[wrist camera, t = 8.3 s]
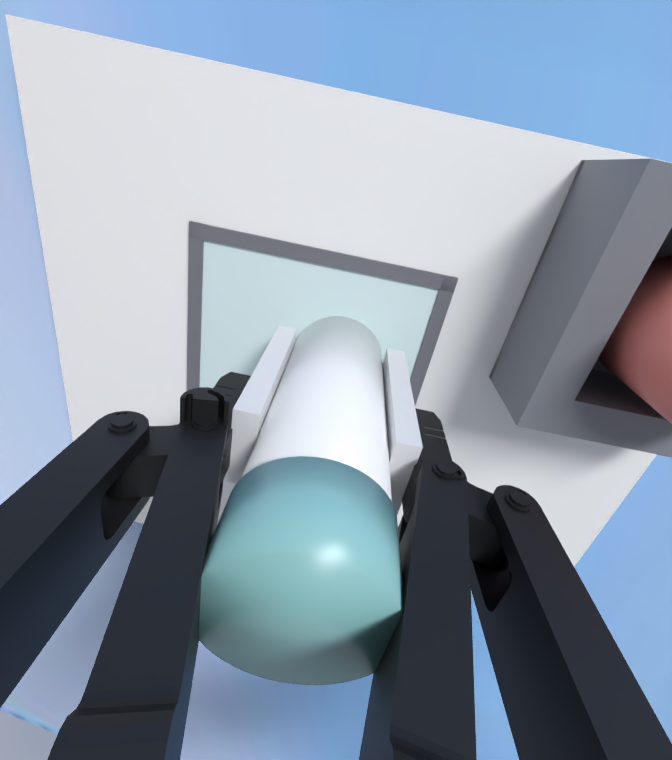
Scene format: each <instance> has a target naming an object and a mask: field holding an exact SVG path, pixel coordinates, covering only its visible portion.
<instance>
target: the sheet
mask: <svg viewBox="0 0 672 760" xmlns="http://www.w3.org/2000/svg"><path fill="white" fill-rule="evenodd" d="M6 20H7V26H8V33H9V39H10V45H11V52H12V58H13V64H14V71H15V77H16V83H17V90H18V96H19V102H20V109H21V115H22V121H23V128H24V134H25V140H26V147H27V153H28V159H29V166H30V172H31V178H32V184H33V191H34V197H35V203H36V210H37V216H38V222H39V229H40V235H41V241H42V248H43V254H44V260H45V267H46V273H47V279H48V286H49V292H50V298H51V305H52V311H53V317H54V324H55V330H56V336H57V343H58V349H59V355H60V362H61V368H62V374H63V381H64V387H65V393H66V400H67V406H68V412H69V419H70V425H71V431H72V438H73V441H75V440H76V439H77V438H78V437H79V436H80V435H81V434H83V433H84V432H85V431H86V430H87V429H88V428H89V427H91V426H92V425H93V424H94V423H95V422H96V421H97V420H99V419H100V418H102V417H103V416H105V415H107V414H110V413H114V412H119V411H133V412H138V413H140V414H143V415H144V416H145V417H146V418H147V419H148V421H149V426H171V425H177V424H179V423H180V397H181V396H182V394H183V393H184V392H186V391H188V390H190V389H194V388H199V387H209V388H214V386H215V385H216V383H217V382H218V380H219V379H220V377H222V376H224V375H226V374H227V373H229V372H235V373H240V374H245V375H250V376H251V375H252V373H253V372H254V370H255V368H256V366H257V364H258V363H259V361H260V359H261V357H262V355H263V353H264V352H265V350H266V348H267V346H268V344H269V343H270V341H271V339H272V337H273V335H274V334H275V332H276V330H277V328H278V326H283V327H288V328H293V329H296V336H295V342H294V346H295V343H296V341H297V339H298V337H299V335H300V334H301V332H302V331H303V330H304V329H305V328H306V327H307V326H308V325H310V324H311V323H313V322H314V321H316V320H319V319H321V318H325V317H330V316H343V317H348V318H352V319H354V320H357V321H359V322H361V323H362V324H364V325H365V326H366V327H368V328H369V329H370V330H371V331H372V332H373V334H374V335H375V336H376V338H377V340H378V342H379V344H380V348H381V352H382V364H383V361H384V357H385V353H386V350H387V348H389V349H394V350H398V351H403V352H405V358H406V363H407V368H408V373H409V378H410V384H411V389H412V394H413V399H414V404H415V408H416V409H421V410H426V411H431V412H434V413H435V415H436V416H437V417H438V418H439V419H440V420H441V423H442V426H443V432H444V433H445V437H446V438H445V439H446V440H447V444H448V447H449V451H450V454H451V458H452V461H453V462H454V463H456V464H457V465H459V466H460V467H461V468H462V470H463V471H464V472H465V474H466V477H467V482H469V483H470V484H472V485H474V486H476V487H479V488H481V489H483V490H486V491H488V492H490V493H494V491H495V489H496V487H498V486H501V485H511V486H514V487H517V488H520V489H522V490H524V491H525V492H527V493H528V494H530V495H531V496H532V497H533V498H534V499H535V500H536V501H537V502H538V504H539V505H540V506H541V508H542V510H543V512H544V514H545V515H546V517H547V519H548V521H549V523H550V524H551V526H552V528H553V530H554V532H555V534H556V535H557V537H558V539H559V541H560V543H561V544H562V546H563V548H564V550H565V552H566V553H567V555H568V557H569V559H570V561H571V563H572V564H573V566H575V565H576V564H577V562H578V561H579V559H580V558H581V557H582V555H583V554H584V553H585V551H586V550H587V549H588V547H589V546H590V545H591V543H592V542H593V540H594V539H595V538H596V536H597V535H598V534H599V532H600V531H601V530H602V528H603V527H604V525H605V524H606V523H607V521H608V520H609V519H610V517H611V516H612V515H613V513H614V512H615V511H616V509H617V508H618V506H619V505H620V504H621V502H622V501H623V500H624V498H625V497H626V496H627V494H628V493H629V492H630V490H631V489H632V487H633V486H634V485H635V483H636V482H637V481H638V479H639V478H640V477H641V475H642V474H643V473H644V471H645V470H646V468H647V467H648V466H649V464H650V463H651V462H652V460H653V459H654V458H655V456H656V455H657V454H652V453H647V452H642V451H637V450H632V449H628V448H623V447H618V446H613V445H608V444H603V443H598V442H593V441H588V440H583V439H578V438H573V437H568V436H563V435H558V434H553V433H548V432H544V431H539V430H534V429H529V428H524V427H519V426H517V425H516V424H515V422H514V420H513V418H512V416H511V415H510V413H509V411H508V409H507V408H506V406H505V404H504V402H503V401H502V399H501V397H500V395H499V394H498V392H497V390H496V388H495V387H494V385H493V383H492V381H491V379H490V378H489V376H490V373H491V371H492V369H493V366H494V364H495V362H496V359H497V357H498V355H499V352H500V350H501V348H502V345H503V343H504V341H505V338H506V336H507V334H508V331H509V329H510V327H511V324H512V322H513V320H514V317H515V315H516V313H517V310H518V308H519V306H520V303H521V301H522V299H523V296H524V294H525V292H526V289H527V287H528V285H529V282H530V280H531V278H532V275H533V273H534V271H535V268H536V266H537V264H538V261H539V259H540V257H541V254H542V252H543V250H544V247H545V245H546V243H547V240H548V238H549V235H550V233H551V231H552V228H553V226H554V224H555V221H556V219H557V217H558V214H559V212H560V210H561V207H562V205H563V203H564V200H565V198H566V196H567V193H568V191H569V189H570V186H571V184H572V182H573V179H574V177H575V175H576V172H577V170H578V168H579V165H580V163H581V161H582V160H609V159H653V158H648V157H644V156H639V155H635V154H630V153H626V152H621V151H617V150H612V149H608V148H603V147H599V146H594V145H590V144H585V143H581V142H576V141H572V140H567V139H563V138H558V137H554V136H549V135H545V134H540V133H536V132H531V131H527V130H523V129H518V128H514V127H509V126H505V125H500V124H496V123H491V122H487V121H482V120H478V119H473V118H469V117H464V116H460V115H455V114H451V113H446V112H442V111H437V110H433V109H428V108H424V107H419V106H415V105H410V104H406V103H401V102H397V101H392V100H388V99H384V98H379V97H375V96H370V95H366V94H361V93H357V92H352V91H348V90H343V89H339V88H334V87H330V86H325V85H321V84H316V83H312V82H307V81H303V80H298V79H294V78H289V77H285V76H280V75H276V74H271V73H267V72H262V71H258V70H253V69H249V68H245V67H240V66H236V65H231V64H227V63H222V62H218V61H213V60H209V59H204V58H200V57H195V56H191V55H186V54H182V53H177V52H173V51H168V50H164V49H159V48H155V47H150V46H146V45H141V44H137V43H132V42H128V41H123V40H119V39H114V38H110V37H106V36H101V35H97V34H92V33H88V32H83V31H79V30H74V29H70V28H65V27H61V26H56V25H52V24H47V23H43V22H38V21H34V20H29V19H25V18H20V17H16V16H11V15H7V14H6ZM655 160H657V159H655ZM659 161H662V160H659ZM664 162H666V161H664ZM668 163H670V162H668ZM227 474H228V471H227V473H226V475H225V477H224V480H223V491H222V498H221V504H220V510H219V516H218V522H219V520H220V517H221V515H222V512H223V510H224V508H225V505H226V503H227V500H228V498H229V496H230V493H231V491H232V490H233V488H234V486H235V485H236V484H237V483H232V482H227ZM152 499H153V497H150V499H149V501H148V502H147V504H146V505H145V506H144V508H143V509H142V511H141V512H140V513H139V515H138V516H137V518H136V519H135V520H134V522H138V523H143V524H144V522H145V519H146V516H147V513H148V511H149V508H150V505H151V502H152ZM402 516H403V506H402V504H401V507H400V509H399V512H398V515H397V522H398V526H399V524H400V521H401V519H402ZM217 524H218V523H217Z"/></svg>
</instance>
